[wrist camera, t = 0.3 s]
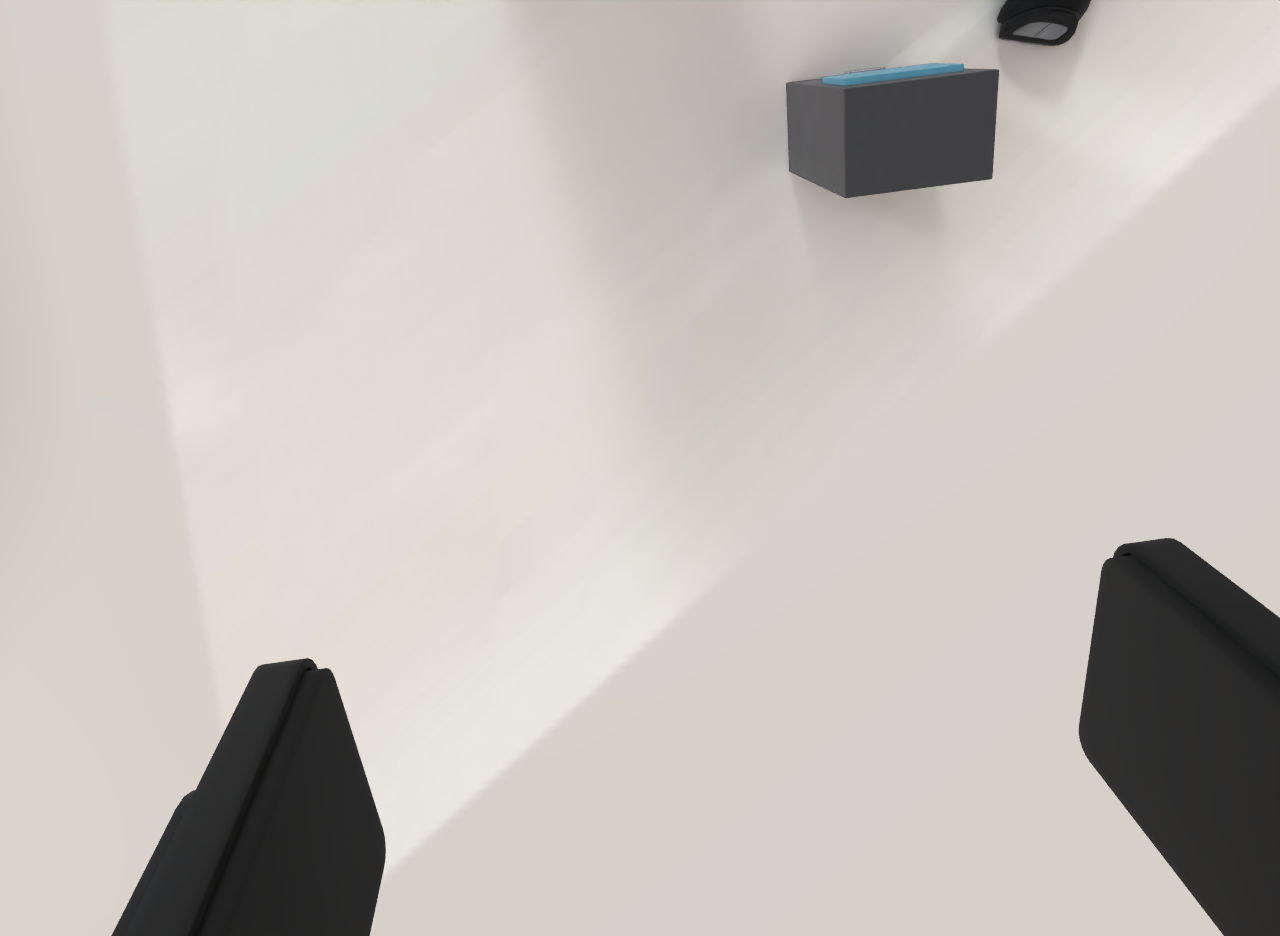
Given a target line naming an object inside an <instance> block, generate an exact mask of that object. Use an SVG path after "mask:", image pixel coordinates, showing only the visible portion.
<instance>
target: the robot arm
mask: <svg viewBox="0 0 1280 936" xmlns="http://www.w3.org/2000/svg"><path fill="white" fill-rule="evenodd" d="M1079 736H1080V741H1081V745H1082V748H1083V750H1084V753H1085V755H1086V756H1087V758H1088V760H1089V761H1090V762H1091V764H1092V765H1093V766H1094V768H1095V769H1096V770H1097V772H1098V773H1099V774H1100V775H1101V776H1102V778H1103V779H1104V780H1105V782H1106V783H1107V785H1108V786H1109V787H1110V788H1111V790H1112V791H1113V792H1114V793H1115V795H1116V796H1117V797H1118V799H1119V800H1120V801H1121V803H1122V804H1123V805H1124V807H1125V808H1126V809H1127V810H1128V812H1129V813H1130V814H1131V816H1132V817H1133V818H1134V820H1135V821H1136V822H1137V823H1138V825H1139V826H1140V827H1141V828H1142V830H1143V831H1144V833H1145V834H1146V835H1147V836H1148V838H1149V839H1150V840H1151V842H1152V843H1153V844H1154V846H1155V847H1156V848H1157V849H1158V851H1159V852H1160V853H1161V855H1162V856H1163V857H1164V858H1165V860H1166V861H1167V862H1168V864H1169V865H1170V866H1171V867H1172V869H1173V870H1174V871H1175V873H1176V874H1177V875H1178V877H1179V878H1180V879H1181V881H1182V882H1183V883H1184V884H1185V886H1186V887H1187V888H1188V890H1189V891H1190V892H1191V893H1192V895H1193V896H1194V897H1195V898H1196V900H1197V901H1198V903H1199V904H1200V905H1201V907H1202V908H1203V909H1204V910H1205V912H1206V913H1207V914H1208V916H1209V917H1210V918H1211V919H1212V921H1213V922H1214V923H1215V925H1216V926H1217V927H1218V928H1219V930H1220V931H1221V932H1222V934H1223V935H1224V936H1280V618H1279V617H1278V616H1277V615H1275V614H1274V613H1273V612H1271V611H1270V610H1269V609H1267V608H1266V607H1265V606H1264V605H1262V604H1261V603H1260V602H1258V601H1257V600H1256V599H1254V598H1253V597H1252V596H1250V595H1249V594H1248V593H1246V592H1245V591H1244V590H1243V589H1241V588H1240V587H1238V586H1237V585H1236V584H1235V583H1233V582H1232V581H1231V580H1229V579H1228V578H1227V577H1225V576H1224V575H1223V574H1222V573H1220V572H1219V571H1218V570H1216V569H1215V568H1214V567H1212V566H1211V565H1210V564H1208V563H1207V562H1206V561H1204V560H1203V559H1202V558H1201V557H1199V556H1198V555H1197V554H1195V553H1194V552H1193V551H1191V550H1190V549H1189V548H1187V547H1186V546H1185V545H1183V544H1182V543H1181V542H1179V541H1177V540H1175V539H1171V538H1164V539H1158V540H1150V541H1143V542H1136V543H1129V544H1123V545H1121V546H1119V547H1118V548H1117V550H1116V551H1115V553H1114V556H1113V558H1110V559H1107V560H1106V561H1105V563H1104V564H1103V567H1102V571H1101V578H1100V585H1099V591H1098V598H1097V605H1096V612H1095V619H1094V626H1093V633H1092V640H1091V647H1090V654H1089V661H1088V667H1087V674H1086V681H1085V688H1084V696H1083V702H1082V709H1081V716H1080V723H1079ZM385 853H386V848H385V836H384V832H383V828H382V825H381V822H380V819H379V815H378V812H377V809H376V806H375V803H374V800H373V797H372V793H371V790H370V787H369V784H368V781H367V778H366V775H365V771H364V768H363V765H362V762H361V759H360V756H359V753H358V750H357V746H356V743H355V740H354V737H353V734H352V731H351V728H350V724H349V721H348V718H347V715H346V712H345V709H344V706H343V702H342V699H341V696H340V693H339V690H338V687H337V684H336V681H335V678H334V675H333V673H332V672H331V670H330V669H328V668H325V669H318V668H317V666H316V664H315V663H314V662H313V660H311V659H308V658H306V659H299V660H292V661H285V662H278V663H271V664H264V665H261V666H258V667H257V668H256V670H255V671H254V673H253V675H252V677H251V679H250V681H249V683H248V685H247V687H246V689H245V691H244V693H243V695H242V697H241V699H240V701H239V703H238V705H237V707H236V709H235V711H234V713H233V715H232V717H231V720H230V722H229V724H228V726H227V728H226V730H225V732H224V734H223V736H222V738H221V740H220V742H219V744H218V746H217V748H216V750H215V752H214V754H213V756H212V758H211V760H210V762H209V764H208V766H207V768H206V771H205V772H204V774H203V776H202V778H201V781H200V782H199V785H198V787H197V789H196V790H194V791H192V792H190V793H189V794H187V795H186V796H185V797H184V798H183V799H182V801H181V802H180V803H179V805H178V806H177V808H176V809H175V811H174V813H173V816H172V817H171V820H170V822H169V823H168V825H167V827H166V829H165V831H164V833H163V835H162V837H161V839H160V841H159V843H158V845H157V847H156V849H155V851H154V853H153V855H152V857H151V859H150V861H149V863H148V865H147V867H146V869H145V871H144V873H143V875H142V877H141V879H140V881H139V883H138V885H137V886H136V888H135V891H134V892H133V894H132V897H131V898H130V901H129V903H128V904H127V907H126V909H125V910H124V912H123V915H122V916H121V918H120V920H119V922H118V924H117V926H116V928H115V930H114V932H113V934H112V936H370V931H371V926H372V922H373V917H374V912H375V907H376V903H377V898H378V893H379V888H380V884H381V879H382V874H383V869H384V864H385Z"/></svg>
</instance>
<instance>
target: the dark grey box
mask: <svg viewBox="0 0 1280 936" xmlns="http://www.w3.org/2000/svg"><path fill="white" fill-rule="evenodd" d="M998 77H999V70H997V69H964V64H937V63H931V64H923V65H915V66H907V67H899V68H891V69H886V68H872V69H864V70H856V71H848V72H845V74H843V75H835V76H827V77H823V78H821V79H813V80H805V81H797V82H789V83H786V91H787V120H788V149H789V171H790V172H792V173H794V174H796V175H798V176H800V177H802V178H804V179H807V180H809V181H811V182H813V183H815V184H817V185H819V186H821V187H823V188H825V189H828V190H830V191H832V192H834V193H836V194H838V195H840V196H842V197H844V198H850V197H857V196H865V195H873V194H880V193H888V192H896V191H903V190H911V189H919V188H926V187H934V186H942V185H950V184H957V183H965V182H973V181H980V180H988V179H992V173H993V157H994V141H995V125H996V109H997V93H998Z"/></svg>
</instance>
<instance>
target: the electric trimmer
mask: <svg viewBox="0 0 1280 936" xmlns="http://www.w3.org/2000/svg"><path fill="white" fill-rule="evenodd" d="M1090 1H1091V0H1007V1H1006V2H1005V4H1004V5H1003V6H1002V8H1001V10H1000V13H999V15H998V18H997V21H998V22H999V23H1000V24H1002V26H1001V29H1000V33H999V39H1003V40H1004V39H1005V40H1009V41H1010V40H1012V41H1016V42H1017V41H1018V42H1020V43H1021V42H1025V43H1026V42H1027V43H1029V44H1030V43H1033V44H1038V45H1039V44H1041V45H1044V46H1045V45H1049V46H1055V45H1060V44H1063V43H1065V42H1066V41H1068V40H1070V38H1071V37H1072V36H1073V35H1074V33H1075V31H1076V28H1077V25H1078V21H1079V20H1080V19H1081V17H1082V16H1083V14H1084V13H1085V12H1086V10H1087V8H1088V7H1089V4H1090Z"/></svg>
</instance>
